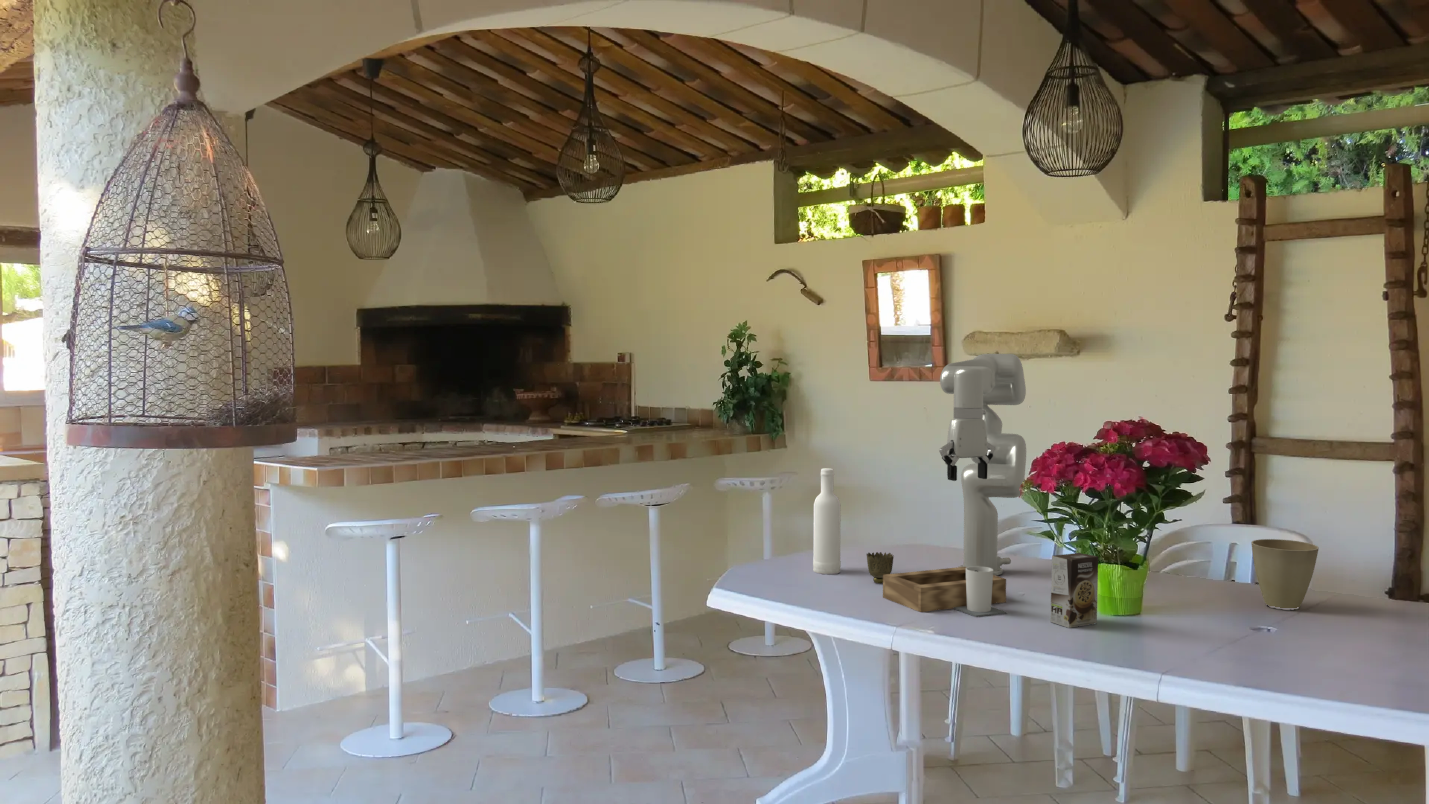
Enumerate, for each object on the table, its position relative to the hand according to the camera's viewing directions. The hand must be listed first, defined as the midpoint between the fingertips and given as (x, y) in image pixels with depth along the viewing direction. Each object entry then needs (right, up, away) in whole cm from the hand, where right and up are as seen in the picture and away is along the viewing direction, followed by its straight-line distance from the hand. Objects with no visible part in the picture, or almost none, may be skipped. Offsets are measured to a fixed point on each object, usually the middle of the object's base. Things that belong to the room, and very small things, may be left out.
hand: (967, 479), depth 286 cm
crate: (-7, -31, -6) cm, 32 cm away
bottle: (-34, -29, +29) cm, 53 cm away
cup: (-21, -30, +14) cm, 39 cm away
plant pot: (+76, -31, -14) cm, 83 cm away
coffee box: (+18, -32, -30) cm, 47 cm away
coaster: (-1, -31, -18) cm, 36 cm away
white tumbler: (-1, -31, -18) cm, 36 cm away
